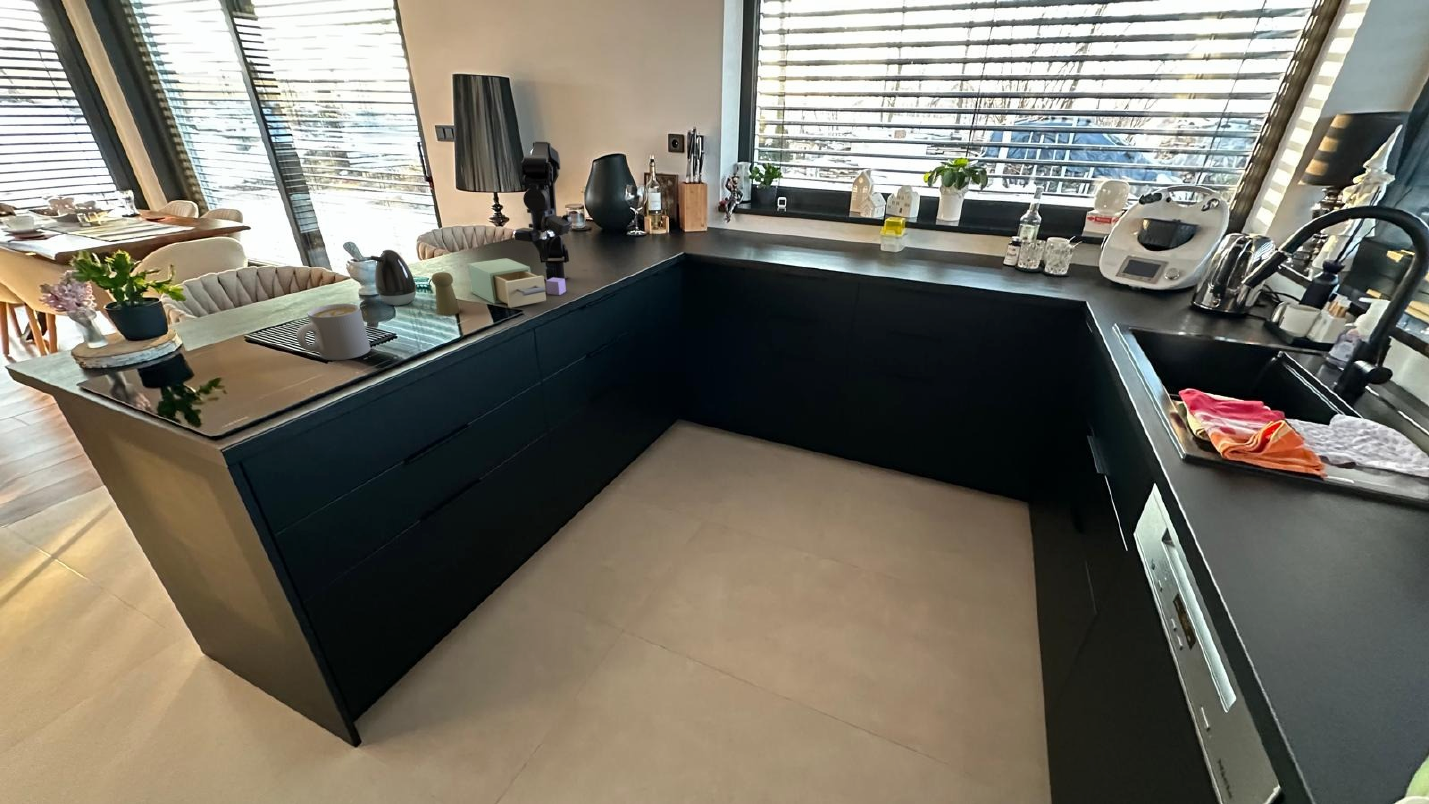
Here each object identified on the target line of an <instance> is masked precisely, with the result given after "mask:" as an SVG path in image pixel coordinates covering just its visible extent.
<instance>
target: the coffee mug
mask: <svg viewBox="0 0 1429 804" xmlns="http://www.w3.org/2000/svg"><path fill="white" fill-rule="evenodd" d="M306 316H307V318H308V321H309V323H306V324H303V325H301V326H300V327H298V329H297V330H296V341H297V343H298V345H299V346H300V347H301V348H302V349H304V350H305V351H307V352H314V353H315V352H316V353H319V357H320V358H321V359H323V360H326V361H327V360H328V361H345V360H351V359H355V358H359V357H362V356H364V355H366V354H368V353H369V352H370V351H371V348H372V347H371V345H370V341H369V337H368V333H367V330H366V325H365V321H364V318H363V314H362V310H361V307H360V306H359V305H358V304H355V303H332V304H331V303H330V304H326V305H325V304H324V305H320V306H316V307H314V308H311V309H309V310H308V311H307V312H306ZM309 332H312V334H313V337H314V342H313V343H312V344H309V343H308V342H307V339H306V336H307V334H308V333H309Z"/></svg>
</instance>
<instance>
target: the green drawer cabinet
mask: <svg viewBox="0 0 1429 804" xmlns="http://www.w3.org/2000/svg"><path fill="white" fill-rule="evenodd" d="M467 269H468V273H469V280H470V287H471V292H472V294H474V295H476V296H478V297H480V298H482V299H484V300H485V301H488V302H489V303H492V304H494V305H497V304H502V303H504V302H503V301H501V300H499V299H497V298H496V294H495V288H494V281H493V276H494V275H500V274H506V273H512V272H519V271H527V272H529V273H532V272H531V267H530V266H529V265H525V264H523V263H522V262H518V261H515V260H513V259H510V258H507V257H506V258H498V259H491V260H484V261H475V262H470V263H467Z"/></svg>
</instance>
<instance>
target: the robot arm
mask: <svg viewBox="0 0 1429 804" xmlns="http://www.w3.org/2000/svg"><path fill="white" fill-rule="evenodd" d="M559 170H561V159H560V154H559V152H558V150H556V149H555V148H553V146H552V144H551V142H549V141H537V140H536V141H534V142H532V148H531V150H530V154H529V155H525V156H524V157H523V158H522V161H520V185H521V186H527V187H526V188H527V190H526V191H525V192H524V194H523V198H522V201H523V204H524V206H525V207H526V208H527V209H526V213H527V214H530V222H531V223H528V227H521V228H516V229H515V230H514V231H513V237H514V240H515V241H520V242H528V243H532V244H533V245H534V247H535V248H536V250H537V251H538V254H539V261H540V264H543V263H545V275H546V276H545V277H544V282H546V280H549V279H551V278H562V279H565V281H566V280H568V279H569V276H568V275H565V266H564V263H565V264H567V263H569V262H570V255H569V250H568V248H567V246H566V244H565V243H564V238H563V235H565V234H566V235H567V234H569V232H570V228H572V227H573V220H572V216H571V215H569V214H568V213H567V214H563V215H562V216H561V215H557V214H558V213H557V202H556V201H557V200H556V199H557V198H556V185H555V184H556V182H557V180H558V178H559V176H560V172H559Z"/></svg>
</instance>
